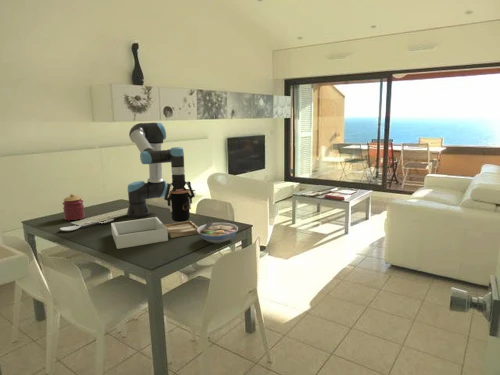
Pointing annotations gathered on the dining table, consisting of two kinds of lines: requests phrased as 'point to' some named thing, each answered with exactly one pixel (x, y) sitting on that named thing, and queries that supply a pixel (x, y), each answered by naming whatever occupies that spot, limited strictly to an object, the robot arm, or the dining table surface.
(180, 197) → the coffee jar
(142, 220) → the crate
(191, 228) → the tray
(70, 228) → the spoon
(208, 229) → the ramen bowl
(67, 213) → the canister
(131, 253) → the dining table surface
